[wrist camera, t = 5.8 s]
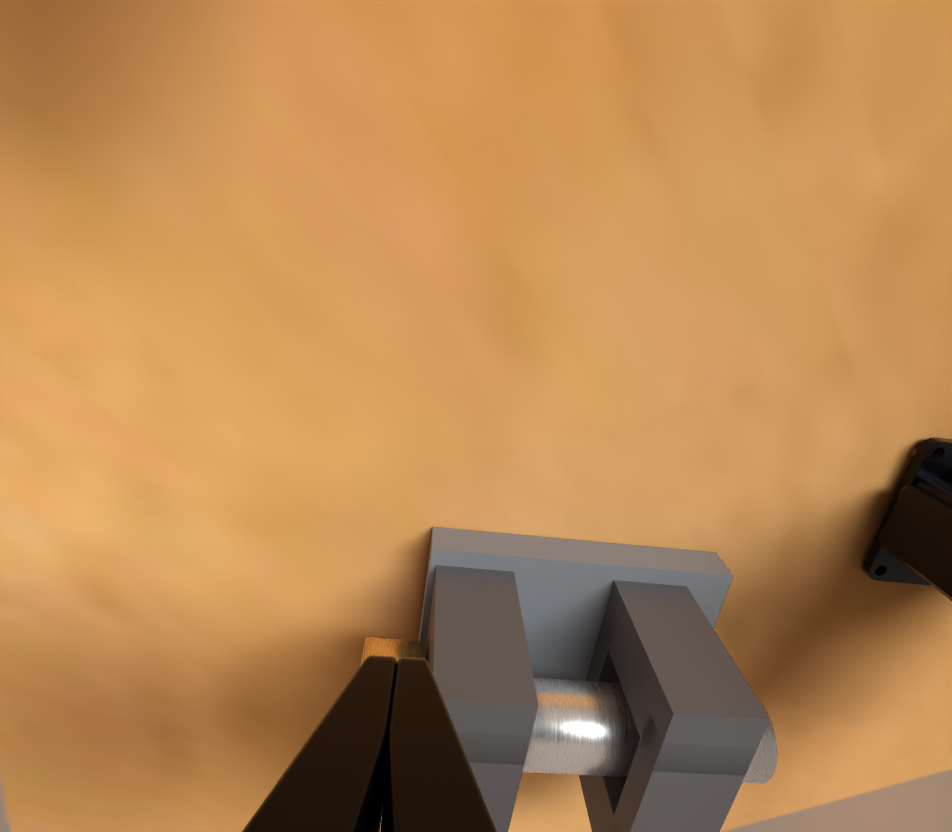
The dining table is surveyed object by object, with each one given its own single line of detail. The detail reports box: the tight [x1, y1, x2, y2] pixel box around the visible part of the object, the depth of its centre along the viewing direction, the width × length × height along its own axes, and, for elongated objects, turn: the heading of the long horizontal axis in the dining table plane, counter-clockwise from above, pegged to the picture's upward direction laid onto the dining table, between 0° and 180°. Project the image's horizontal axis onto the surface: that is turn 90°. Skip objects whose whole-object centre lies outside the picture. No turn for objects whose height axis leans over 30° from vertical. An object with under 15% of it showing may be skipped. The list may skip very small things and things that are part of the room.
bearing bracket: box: [418, 527, 770, 832], centre depth 21 cm, size 12×10×8 cm
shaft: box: [360, 637, 777, 783], centre depth 20 cm, size 15×5×5 cm, turn 82°
